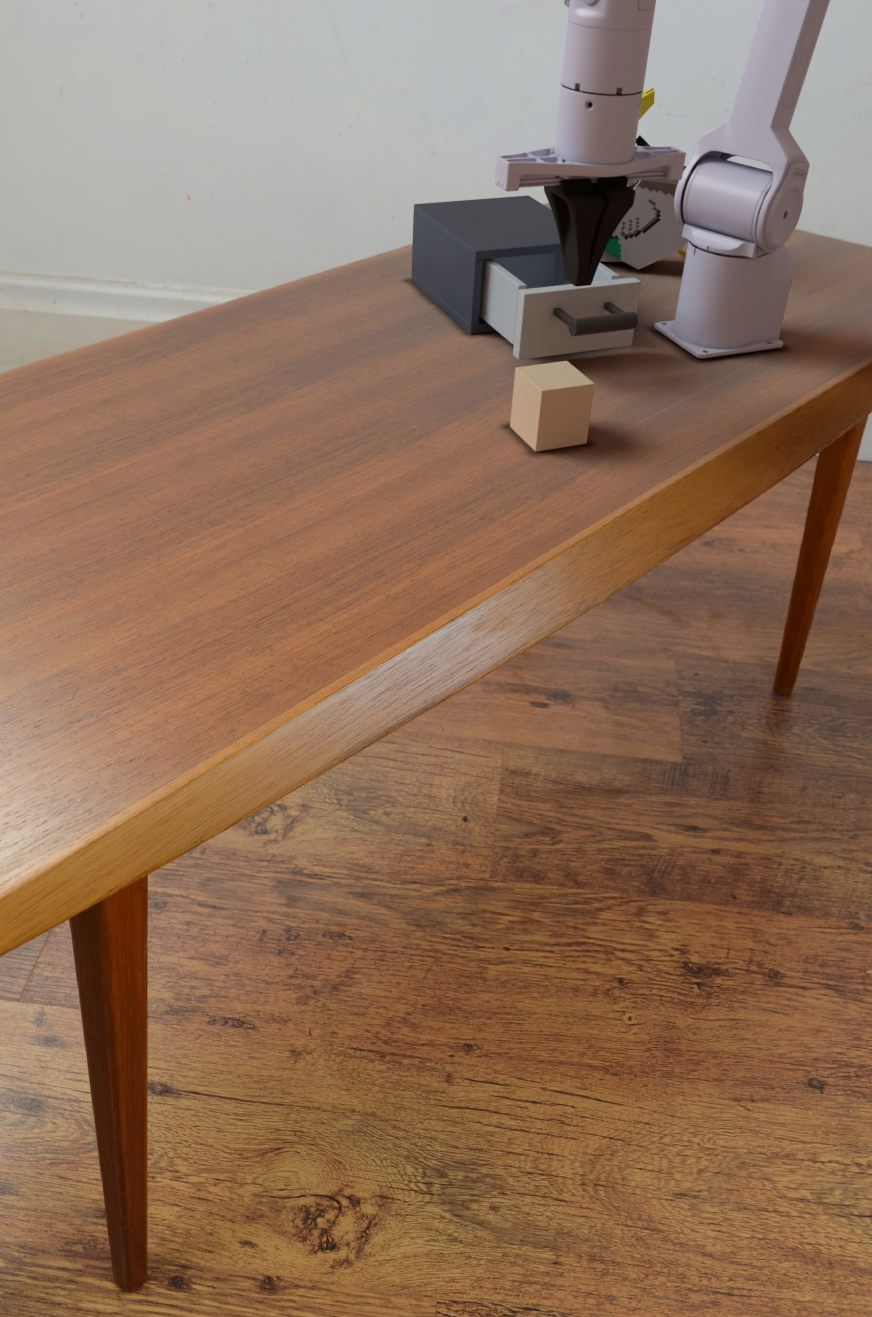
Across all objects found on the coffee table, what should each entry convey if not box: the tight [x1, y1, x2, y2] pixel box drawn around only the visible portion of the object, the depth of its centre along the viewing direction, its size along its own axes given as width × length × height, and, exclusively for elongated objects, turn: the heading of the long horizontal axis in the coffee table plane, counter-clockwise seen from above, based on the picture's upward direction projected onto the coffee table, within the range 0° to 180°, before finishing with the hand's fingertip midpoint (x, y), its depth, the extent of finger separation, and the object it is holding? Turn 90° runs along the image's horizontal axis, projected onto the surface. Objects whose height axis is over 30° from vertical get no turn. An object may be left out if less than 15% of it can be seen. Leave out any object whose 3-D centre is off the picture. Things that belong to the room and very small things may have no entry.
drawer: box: [479, 252, 642, 361], centre depth 103 cm, size 18×11×6 cm, turn 23°
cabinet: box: [410, 195, 562, 335], centre depth 111 cm, size 15×13×8 cm
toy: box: [600, 86, 689, 270], centre depth 120 cm, size 6×17×20 cm
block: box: [509, 360, 596, 452], centre depth 89 cm, size 4×4×5 cm
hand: (577, 281), depth 88 cm, fingers closed
